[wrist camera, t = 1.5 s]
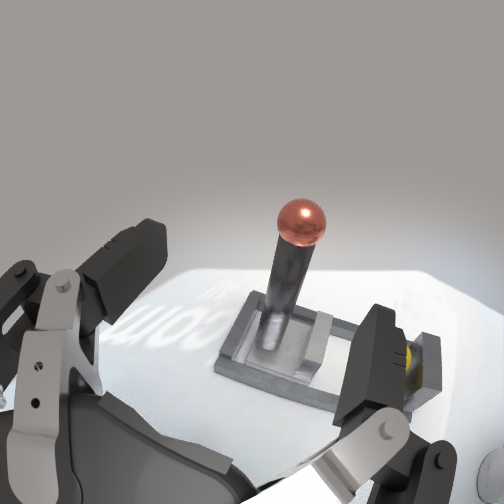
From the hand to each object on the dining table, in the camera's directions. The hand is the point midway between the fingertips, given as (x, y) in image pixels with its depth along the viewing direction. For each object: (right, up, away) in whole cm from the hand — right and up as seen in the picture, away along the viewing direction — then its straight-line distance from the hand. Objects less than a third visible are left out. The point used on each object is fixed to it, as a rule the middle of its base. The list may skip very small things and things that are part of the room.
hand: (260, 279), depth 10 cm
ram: (+4, -12, +25) cm, 28 cm away
